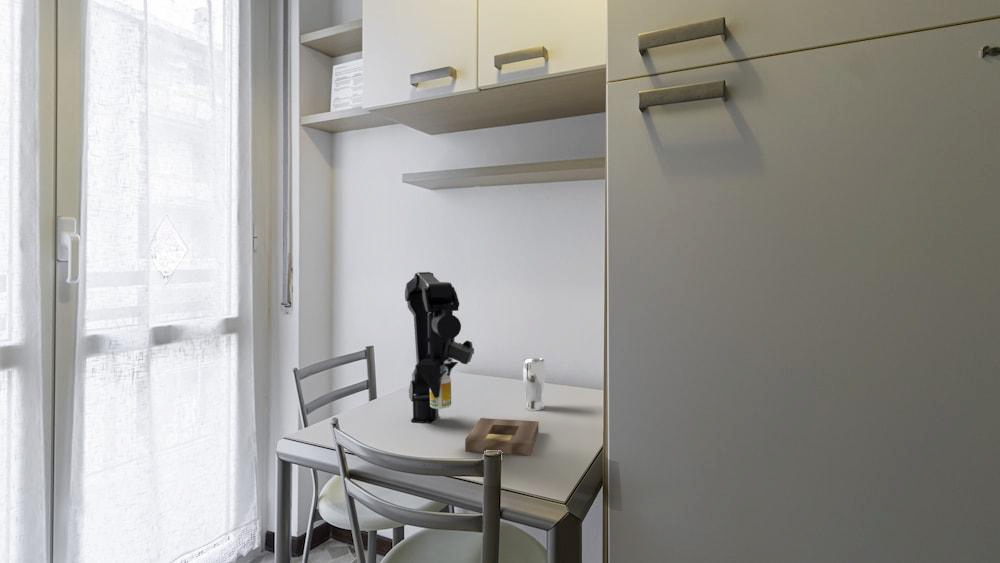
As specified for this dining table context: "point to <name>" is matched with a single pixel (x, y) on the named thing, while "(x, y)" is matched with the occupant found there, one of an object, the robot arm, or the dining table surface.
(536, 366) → the beer glass
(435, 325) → the robot arm
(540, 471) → the dining table surface
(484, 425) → the socket block
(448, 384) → the supplement bottle
